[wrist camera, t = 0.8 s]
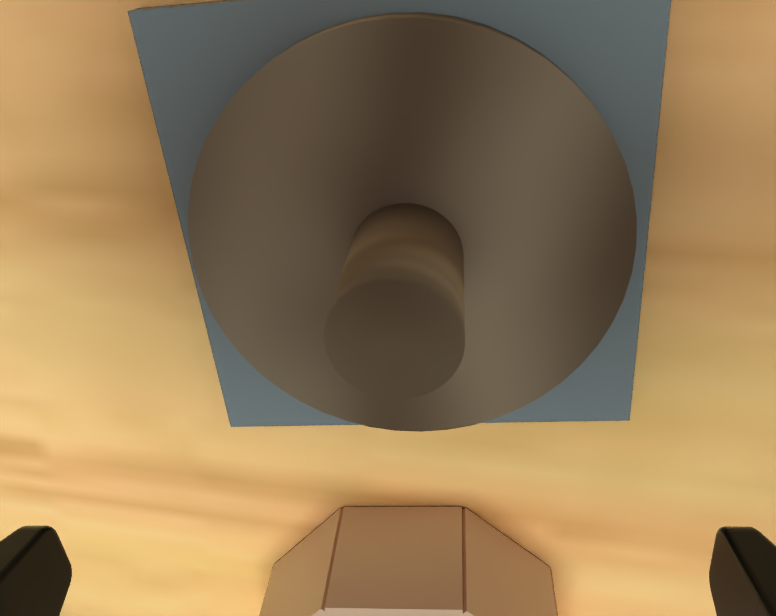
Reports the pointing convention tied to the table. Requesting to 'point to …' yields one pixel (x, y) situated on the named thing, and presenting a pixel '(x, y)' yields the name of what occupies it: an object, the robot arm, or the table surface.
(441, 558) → the bowl
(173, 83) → the mat
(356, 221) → the lid
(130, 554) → the table surface
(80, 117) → the table surface
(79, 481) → the table surface
